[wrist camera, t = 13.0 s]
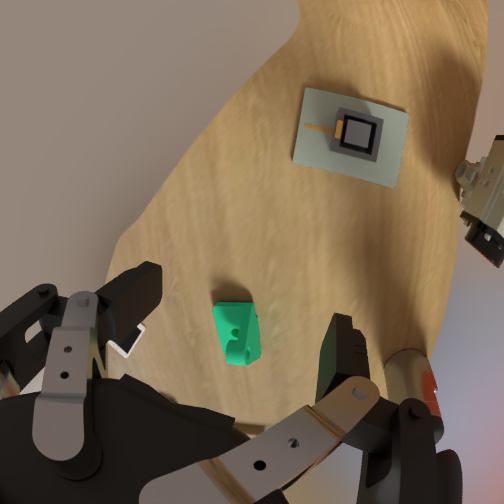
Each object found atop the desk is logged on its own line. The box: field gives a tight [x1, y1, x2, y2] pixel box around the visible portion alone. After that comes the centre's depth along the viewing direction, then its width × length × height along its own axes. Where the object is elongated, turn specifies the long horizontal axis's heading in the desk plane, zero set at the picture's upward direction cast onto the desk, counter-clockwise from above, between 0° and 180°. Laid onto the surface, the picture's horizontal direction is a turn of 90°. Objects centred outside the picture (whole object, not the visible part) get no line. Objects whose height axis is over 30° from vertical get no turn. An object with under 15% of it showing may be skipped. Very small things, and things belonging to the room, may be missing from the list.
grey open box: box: [330, 107, 384, 163], centre depth 32 cm, size 6×6×5 cm
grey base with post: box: [292, 87, 409, 189], centre depth 32 cm, size 16×12×7 cm
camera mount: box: [213, 302, 261, 365], centre depth 48 cm, size 12×8×10 cm, turn 8°
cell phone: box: [108, 322, 146, 358], centre depth 64 cm, size 9×18×1 cm, turn 143°
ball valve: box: [455, 135, 504, 268], centre depth 24 cm, size 18×8×18 cm, turn 156°
